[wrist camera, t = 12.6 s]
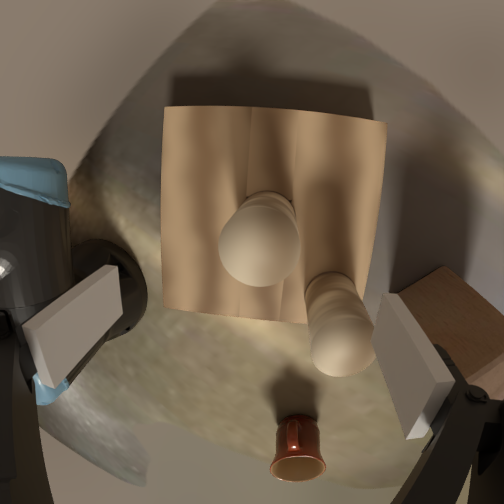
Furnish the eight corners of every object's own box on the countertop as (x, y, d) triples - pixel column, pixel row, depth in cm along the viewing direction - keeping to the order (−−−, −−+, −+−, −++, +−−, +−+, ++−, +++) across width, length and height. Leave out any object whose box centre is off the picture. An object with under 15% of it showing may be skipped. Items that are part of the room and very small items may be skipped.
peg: (242, 233, 38) (216, 283, 24) (245, 184, 37) (219, 203, 22) (292, 238, 38) (296, 290, 23) (296, 188, 36) (305, 211, 21)
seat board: (176, 291, 42) (126, 357, 27) (179, 112, 35) (115, 90, 20) (349, 308, 41) (376, 385, 25) (374, 126, 33) (432, 111, 18)
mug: (323, 435, 49) (326, 479, 39) (277, 440, 50) (274, 483, 41) (318, 393, 46) (323, 440, 36) (265, 399, 47) (260, 446, 37)
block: (385, 296, 40) (442, 393, 21) (444, 261, 37) (528, 333, 18) (407, 345, 42) (454, 442, 23) (459, 313, 39) (526, 393, 20)
